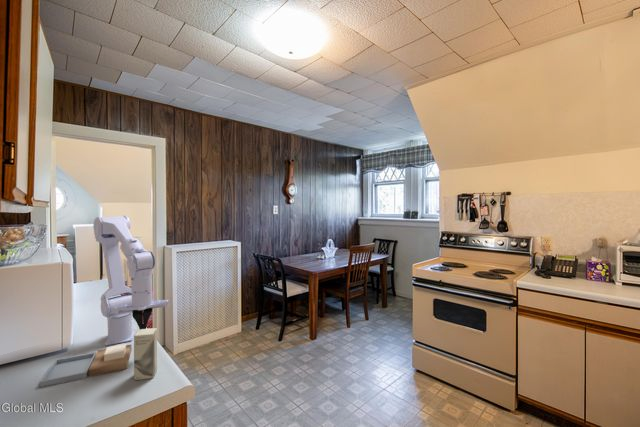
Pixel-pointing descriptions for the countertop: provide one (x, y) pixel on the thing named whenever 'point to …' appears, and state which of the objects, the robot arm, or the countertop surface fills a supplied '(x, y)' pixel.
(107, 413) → the countertop surface
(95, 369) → the plate
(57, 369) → the tray
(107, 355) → the tile
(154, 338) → the box
